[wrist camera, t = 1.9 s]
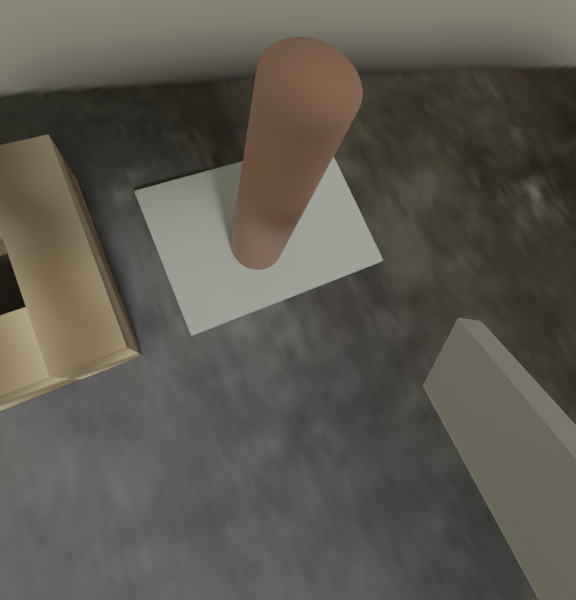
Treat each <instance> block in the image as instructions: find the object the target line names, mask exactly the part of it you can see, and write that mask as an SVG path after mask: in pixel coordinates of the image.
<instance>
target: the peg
mask: <svg viewBox="0 0 576 600" xmlns="http://www.w3.org/2000/svg"><path fill="white" fill-rule="evenodd" d="M361 102H362V84H361V81H360V78H359V75H358V73H357V71H356V69H355V68H354V66H353V65H352V64H351V62H350V61H349V60H348V59H347V58H346V57H345V56H344V55H343V54H342V53H341V52H340V51H338V50H337V49H335V48H334V47H332V46H330V45H329V44H327V43H324V42H322V41H319V40H316V39H312V38H305V37H293V38H287V39H283V40H281V41H279V42H276V43H274V44H273V45H271V46H270V47H269V48H268V49H267V50H266V51H265V52H264V53H263V55H262V56H261V58H260V60H259V62H258V66H257V71H256V77H255V84H254V90H253V97H252V104H251V110H250V117H249V124H248V130H247V137H246V144H245V150H244V157H243V163H242V170H241V177H240V183H239V190H238V197H237V203H236V210H235V217H234V223H233V230H232V237H231V250H232V253H233V255H234V257H235V259H236V260H237V261H238V262H239V263H240V264H241V265H243V266H245V267H247V268H249V269H253V270H262V269H266V268H269V267H271V266H272V265H273V264H275V263H276V262H277V260H278V259H279V257H280V255H281V253H282V252H283V250H284V248H285V246H286V244H287V242H288V240H289V239H290V237H291V235H292V233H293V231H294V229H295V227H296V226H297V224H298V222H299V220H300V218H301V216H302V214H303V213H304V211H305V209H306V207H307V205H308V203H309V201H310V199H311V198H312V196H313V194H314V192H315V190H316V188H317V186H318V185H319V183H320V181H321V179H322V177H323V175H324V173H325V172H326V170H327V168H328V166H329V164H330V162H331V160H332V158H333V157H334V155H335V153H336V151H337V149H338V147H339V145H340V144H341V142H342V140H343V138H344V136H345V134H346V132H347V131H348V129H349V127H350V125H351V123H352V121H353V119H354V117H355V116H356V114H357V112H358V110H359V108H360V105H361Z"/></svg>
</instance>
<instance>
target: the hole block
mask: <svg viewBox="0 0 576 600" xmlns="http://www.w3.org/2000/svg"><path fill="white" fill-rule="evenodd" d="M6 254H8V255H9V258H10V261H11V264H12V267H13V270H14V273H15V276H16V279H17V282H18V285H19V288H20V291H21V294H22V297H23V300H24V303H25V306H26V307H24V308H21V309H18V310H15V311H12V312H9V313H6V314H3V315H0V411H1V410H4V409H7V408H9V407H12V406H14V405H17V404H19V403H22V402H24V401H27V400H30V399H32V398H35V397H37V396H40V395H42V394H45V393H47V392H50V391H53V390H55V389H58V388H60V387H63V386H65V385H68V384H70V383H73V382H76V381H78V380H81V379H83V378H86V377H88V376H91V375H93V374H96V373H99V372H101V371H104V370H106V369H109V368H111V367H114V366H116V365H119V364H122V363H124V362H127V361H129V360H132V359H134V358H137V357H139V356H142V353H141V350H140V348H139V345H138V342H137V340H136V337H135V334H134V332H133V329H132V326H131V324H130V321H129V318H128V316H127V313H126V310H125V308H124V305H123V302H122V299H121V297H120V294H119V291H118V289H117V286H116V283H115V281H114V278H113V275H112V273H111V270H110V267H109V265H108V262H107V259H106V257H105V254H104V251H103V249H102V246H101V243H100V241H99V238H98V235H97V233H96V230H95V227H94V224H93V222H92V219H91V216H90V214H89V211H88V208H87V206H86V203H85V200H84V198H83V195H82V192H81V190H80V187H79V184H78V182H77V179H76V178H75V176H74V174H73V173H72V171H71V170H70V168H69V166H68V165H67V163H66V162H65V160H64V158H63V157H62V155H61V154H60V152H59V151H58V149H57V147H56V146H55V144H54V143H53V141H52V139H51V138H50V136H49V135H44V136H39V137H34V138H30V139H25V140H21V141H16V142H12V143H7V144H3V145H0V256H3V255H6Z"/></svg>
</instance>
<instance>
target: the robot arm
mask: <svg viewBox="0 0 576 600" xmlns="http://www.w3.org/2000/svg"><path fill="white" fill-rule="evenodd" d="M423 387H424V389H425V391H426V393H427V395H428V397H429V399H430V400H431V402H432V404H433V406H434V408H435V410H436V411H437V413H438V415H439V417H440V419H441V421H442V422H443V424H444V426H445V428H446V430H447V432H448V434H449V435H450V437H451V439H452V441H453V443H454V445H455V446H456V448H457V450H458V452H459V454H460V456H461V458H462V459H463V461H464V463H465V465H466V467H467V469H468V470H469V472H470V474H471V476H472V478H473V480H474V481H475V483H476V485H477V487H478V489H479V491H480V493H481V494H482V496H483V498H484V500H485V502H486V504H487V505H488V507H489V509H490V511H491V513H492V515H493V517H494V518H495V520H496V522H497V524H498V526H499V528H500V529H501V531H502V533H503V535H504V537H505V539H506V541H507V542H508V544H509V546H510V548H511V550H512V552H513V553H514V555H515V557H516V559H517V561H518V563H519V564H520V566H521V568H522V570H523V572H524V574H525V576H526V577H527V579H528V581H529V583H530V585H531V587H532V588H533V590H534V592H535V594H536V596H537V598H538V600H576V425H575V424H574V423H573V421H572V420H571V419H570V418H569V417H568V416H567V415H566V414H565V413H564V412H563V411H562V409H561V408H560V407H559V406H558V405H557V404H556V403H555V402H554V401H553V400H552V398H551V397H550V396H549V395H548V394H547V393H546V392H545V391H544V390H543V389H542V388H541V386H540V385H539V384H538V383H537V382H536V381H535V380H534V379H533V378H532V377H531V375H530V374H529V373H528V372H527V371H526V370H525V369H524V368H523V367H522V366H521V364H520V363H519V362H518V361H517V360H516V359H515V358H514V357H513V356H512V355H511V354H510V352H509V351H508V350H507V349H506V348H505V347H504V346H503V345H502V344H501V343H500V341H499V340H498V339H497V338H496V337H495V336H494V335H493V334H492V333H491V332H490V331H489V329H488V328H487V327H486V326H485V325H484V324H483V323H482V322H481V321H477V320H470V319H463V318H458V319H457V321H456V323H455V325H454V327H453V329H452V331H451V333H450V334H449V336H448V338H447V340H446V342H445V344H444V346H443V348H442V350H441V352H440V354H439V356H438V358H437V359H436V361H435V363H434V365H433V367H432V369H431V371H430V373H429V375H428V377H427V379H426V381H425V383H424V384H423Z"/></svg>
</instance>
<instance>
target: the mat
mask: <svg viewBox="0 0 576 600" xmlns="http://www.w3.org/2000/svg"><path fill="white" fill-rule="evenodd" d="M242 163H243V161H241V162H238V163H234V164H231V165H227V166H223V167H220V168H216V169H212V170H209V171H205V172H201V173H198V174H194V175H190V176H187V177H183V178H179V179H176V180H172V181H169V182H165V183H161V184H158V185H154V186H150V187H147V188H143V189H139V190H136V191H134V192H135V195H136V197H137V200H138V203H139V205H140V208H141V210H142V213H143V215H144V218H145V220H146V223H147V225H148V228H149V230H150V233H151V236H152V238H153V241H154V243H155V246H156V248H157V251H158V253H159V256H160V258H161V261H162V263H163V266H164V269H165V271H166V274H167V276H168V279H169V281H170V284H171V286H172V289H173V291H174V294H175V296H176V299H177V302H178V304H179V307H180V309H181V312H182V314H183V317H184V319H185V322H186V324H187V327H188V329H189V332H190V334H191V336H193V335H196V334H198V333H201V332H203V331H206V330H208V329H211V328H213V327H216V326H219V325H221V324H224V323H226V322H229V321H231V320H234V319H236V318H239V317H242V316H244V315H247V314H249V313H252V312H254V311H257V310H259V309H262V308H265V307H267V306H270V305H272V304H275V303H277V302H280V301H282V300H285V299H288V298H290V297H293V296H295V295H298V294H300V293H303V292H305V291H308V290H311V289H313V288H316V287H318V286H321V285H323V284H326V283H328V282H331V281H334V280H336V279H339V278H341V277H344V276H346V275H349V274H351V273H354V272H357V271H359V270H362V269H364V268H367V267H369V266H372V265H374V264H377V263H380V262H381V261H383V259H382V257H381V254H380V252H379V250H378V248H377V246H376V244H375V242H374V240H373V238H372V236H371V234H370V231H369V229H368V227H367V225H366V223H365V221H364V219H363V217H362V215H361V213H360V211H359V208H358V206H357V204H356V202H355V200H354V198H353V196H352V194H351V192H350V190H349V188H348V185H347V183H346V181H345V179H344V177H343V175H342V173H341V171H340V169H339V167H338V165H337V163H336V160H335V158H334V157H333V158H332V160H331V162H330V164H329V166H328V168H327V170H326V172H325V173H324V175H323V177H322V179H321V181H320V183H319V185H318V186H317V188H316V190H315V192H314V194H313V196H312V198H311V199H310V201H309V203H308V205H307V207H306V209H305V211H304V213H303V214H302V216H301V218H300V220H299V222H298V224H297V226H296V227H295V229H294V231H293V233H292V235H291V237H290V239H289V240H288V242H287V244H286V246H285V248H284V250H283V252H282V253H281V255H280V257H279V259H278V260H277V262H276V263H275V264H273V265H272V266H271V267H269V268H266V269H262V270H253V269H249V268H247V267H245V266H243V265H241V264H240V263H239V262H238V261H237V260H236V259H235V257H234V255H233V253H232V250H231V237H232V230H233V223H234V217H235V210H236V203H237V197H238V190H239V183H240V177H241V170H242Z"/></svg>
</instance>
